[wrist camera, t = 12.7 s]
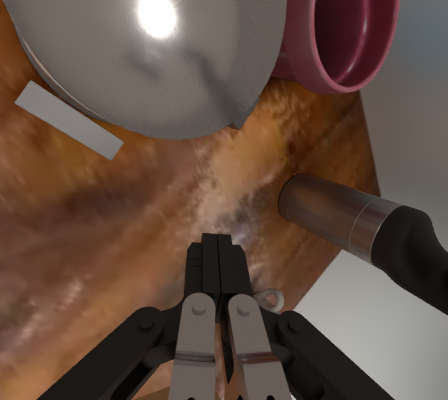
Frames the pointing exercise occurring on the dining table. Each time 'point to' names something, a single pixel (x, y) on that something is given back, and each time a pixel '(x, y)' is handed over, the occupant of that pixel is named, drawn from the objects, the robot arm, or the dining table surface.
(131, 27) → the lid
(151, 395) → the sandwich container
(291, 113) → the dining table surface
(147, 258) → the dining table surface
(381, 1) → the plant pot
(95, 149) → the oval food canister
